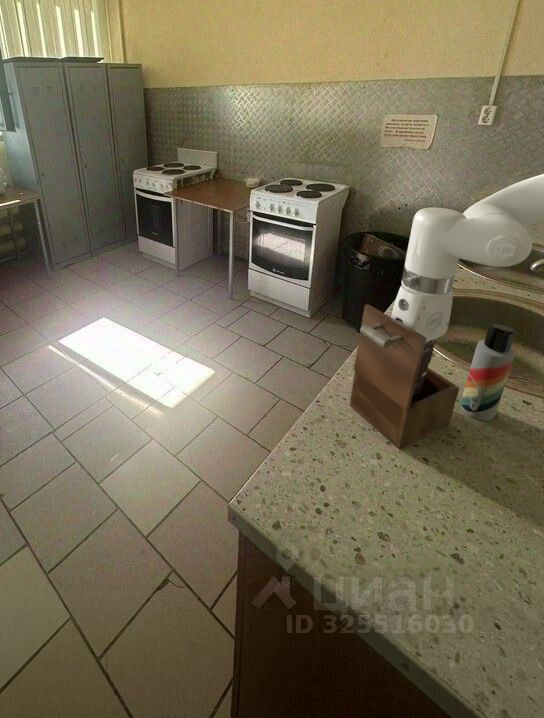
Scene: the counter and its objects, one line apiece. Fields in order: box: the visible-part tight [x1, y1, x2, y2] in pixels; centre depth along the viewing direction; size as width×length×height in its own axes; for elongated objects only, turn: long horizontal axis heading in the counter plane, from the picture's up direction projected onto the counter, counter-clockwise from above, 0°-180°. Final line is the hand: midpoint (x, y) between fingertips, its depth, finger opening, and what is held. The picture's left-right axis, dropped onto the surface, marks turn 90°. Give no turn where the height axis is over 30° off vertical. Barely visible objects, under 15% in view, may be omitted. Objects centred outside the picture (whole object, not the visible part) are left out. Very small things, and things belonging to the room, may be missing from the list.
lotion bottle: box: [460, 322, 516, 422], centre depth 76 cm, size 6×6×20 cm
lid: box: [353, 303, 426, 410], centre depth 70 cm, size 15×12×5 cm
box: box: [412, 341, 435, 397], centre depth 75 cm, size 6×4×12 cm
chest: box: [349, 367, 460, 450], centre depth 77 cm, size 14×12×9 cm
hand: (408, 363), depth 75 cm, fingers closed on box, 6 cm apart
